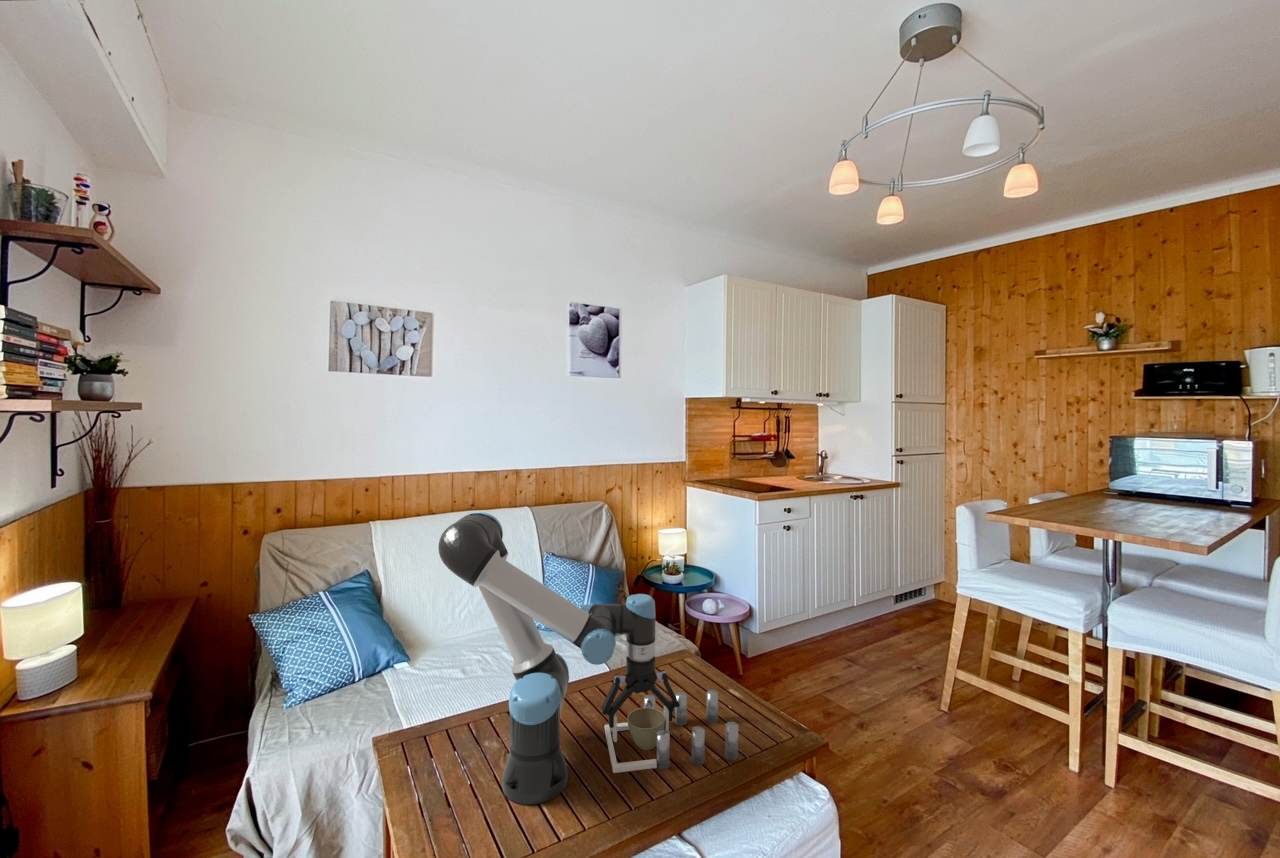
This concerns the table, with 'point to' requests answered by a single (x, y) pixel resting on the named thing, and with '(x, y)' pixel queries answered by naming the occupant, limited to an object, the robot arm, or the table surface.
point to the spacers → (694, 731)
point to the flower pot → (645, 726)
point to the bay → (626, 765)
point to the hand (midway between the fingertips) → (640, 735)
